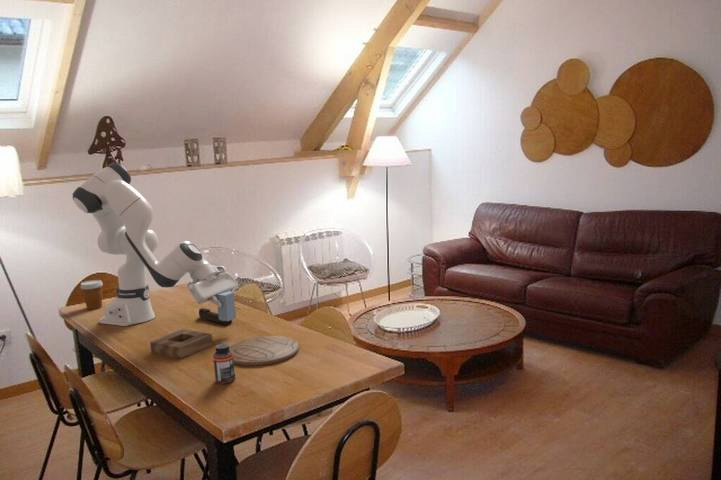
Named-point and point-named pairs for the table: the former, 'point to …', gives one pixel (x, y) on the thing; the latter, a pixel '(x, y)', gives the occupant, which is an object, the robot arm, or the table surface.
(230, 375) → the supplement bottle
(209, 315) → the hand tool
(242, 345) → the trivet
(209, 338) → the walnut holder
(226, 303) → the square post
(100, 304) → the disposable coffee cup
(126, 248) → the robot arm
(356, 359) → the table surface
